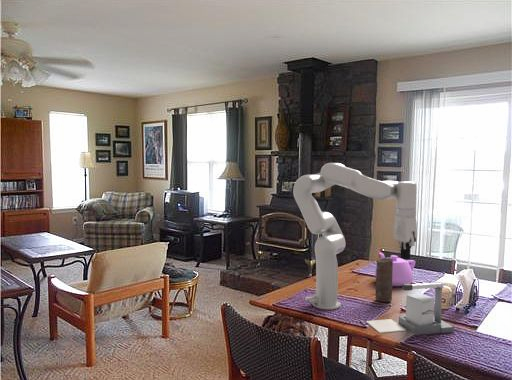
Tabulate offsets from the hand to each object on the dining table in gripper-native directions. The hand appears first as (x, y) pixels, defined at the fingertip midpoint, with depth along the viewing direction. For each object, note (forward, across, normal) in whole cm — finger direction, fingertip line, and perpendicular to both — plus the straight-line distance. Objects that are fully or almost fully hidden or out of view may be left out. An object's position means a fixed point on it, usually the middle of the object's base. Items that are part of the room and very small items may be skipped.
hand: (405, 258), depth 162 cm
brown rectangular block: (+26, -25, +5) cm, 36 cm away
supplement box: (+26, +6, +3) cm, 27 cm away
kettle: (+26, -50, +24) cm, 61 cm away
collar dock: (+26, +6, +5) cm, 27 cm away
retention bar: (+11, +6, +4) cm, 13 cm away
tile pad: (+26, +2, -9) cm, 28 cm away
